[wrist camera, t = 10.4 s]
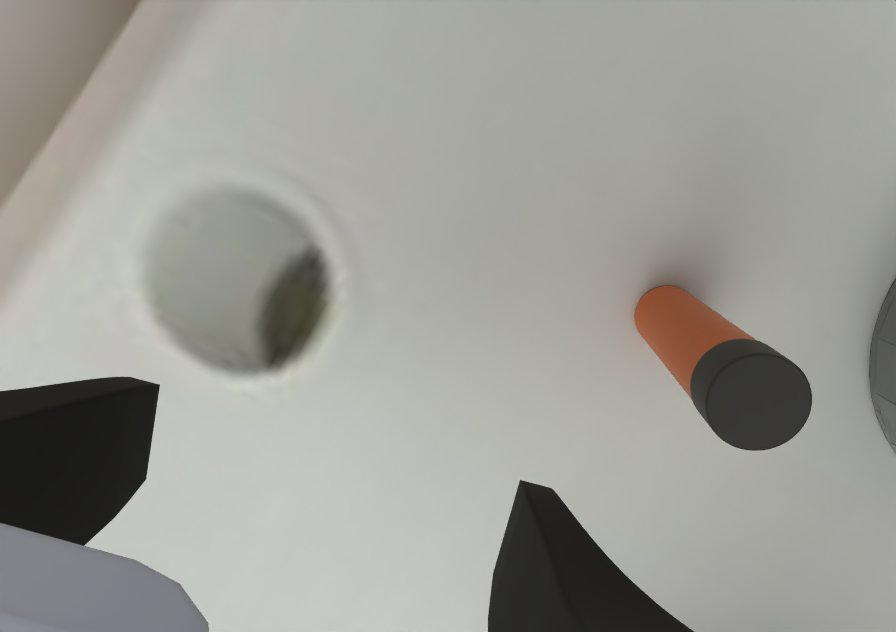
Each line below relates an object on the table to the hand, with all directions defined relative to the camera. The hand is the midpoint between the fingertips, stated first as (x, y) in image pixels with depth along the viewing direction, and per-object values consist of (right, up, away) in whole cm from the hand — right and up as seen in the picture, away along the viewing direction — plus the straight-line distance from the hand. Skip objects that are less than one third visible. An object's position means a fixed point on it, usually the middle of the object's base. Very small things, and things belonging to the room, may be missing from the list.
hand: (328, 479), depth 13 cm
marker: (+9, +3, +9) cm, 13 cm away
